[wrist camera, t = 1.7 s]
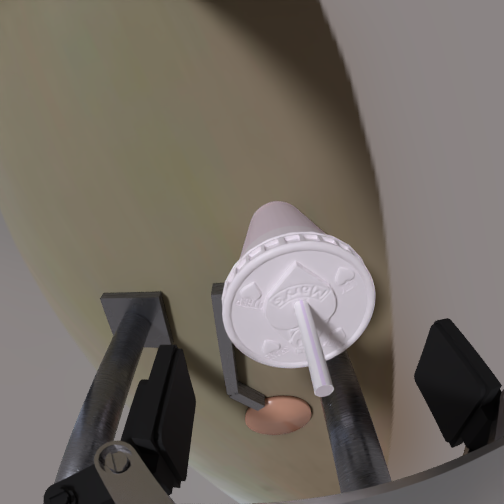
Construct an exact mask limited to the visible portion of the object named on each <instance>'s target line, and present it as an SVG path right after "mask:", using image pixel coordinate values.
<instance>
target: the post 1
mask: <svg viewBox="0 0 504 504" xmlns="http://www.w3.org/2000/svg"><path fill="white" fill-rule="evenodd" d="M100 300H101V303H102V306H103V308H104V311H105V314H106V317H107V320H108V322H109V325H110V328H111V330H112V333H113V338H112V341H111V343H110V345H109V347H108V349H107V351H106V353H105V355H104V358H103V360H102V362H101V364H100V366H99V369H98V371H97V373H96V375H95V378H94V380H93V382H92V385H91V387H90V389H89V392H88V394H87V397H86V399H85V401H84V404H83V406H82V408H81V411H80V413H79V416H78V418H77V421H76V423H75V426H74V429H73V431H72V434H71V437H70V439H69V442H68V445H67V447H66V450H65V453H64V456H63V459H62V461H61V465H60V467H59V470H58V473H57V477H56V479H55V483H57V482H59V481H61V480H63V479H65V478H67V477H69V476H71V475H73V474H75V473H77V472H79V471H81V470H83V469H85V468H87V467H89V466H91V465H93V464H94V456H95V454H96V451H97V450H98V449H99V448H100V447H101V446H102V445H104V444H105V443H107V442H111V441H114V438H115V434H116V431H117V428H118V424H119V421H120V417H121V414H122V411H123V408H124V405H125V401H126V398H127V395H128V392H129V389H130V386H131V383H132V380H133V377H134V374H135V371H136V368H137V365H138V362H139V359H140V356H141V353H142V350H143V347H159V346H160V345H173V338H172V334H171V330H170V326H169V323H168V319H167V315H166V311H165V306H164V302H163V298H162V294H161V292H128V293H103V295H102V296H101V298H100ZM55 483H54V484H55Z"/></svg>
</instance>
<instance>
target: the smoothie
mask: <svg viewBox="0 0 504 504" xmlns="http://www.w3.org/2000/svg"><path fill="white" fill-rule="evenodd" d="M374 306H375V287H374V283H373V280H372V277H371V275H370V273H369V271H368V269H367V268H366V266H365V264H364V262H363V260H362V258H361V257H360V256H359V255H358V254H357V253H356V252H355V251H354V250H353V248H352V247H351V246H350V245H348V244H346V243H345V242H343V241H341V240H339V239H337V238H336V237H334V236H331V235H327V234H325V233H324V232H323V231H322V230H321V229H320V228H319V227H318V226H316V225H315V224H314V223H313V222H312V221H311V220H310V219H308V218H307V217H306V216H305V215H304V214H303V213H302V212H300V211H299V210H298V209H297V208H296V207H294V206H293V205H291V204H289V203H287V202H282V201H274V202H270V203H267V204H265V205H263V206H261V207H260V208H259V209H258V210H257V211H256V212H255V213H254V215H253V217H252V219H251V222H250V225H249V229H248V232H247V236H246V239H245V242H244V246H243V249H242V252H241V256H240V259H239V260H238V261H237V262H236V263H235V265H234V266H233V268H232V270H231V272H230V273H229V275H228V277H227V279H226V281H225V285H224V289H223V294H222V317H223V323H224V327H225V330H226V333H227V335H228V337H229V338H230V340H231V341H232V343H233V344H234V345H235V346H236V347H237V348H238V349H239V350H240V351H241V352H242V353H243V354H245V355H246V356H248V357H249V358H251V359H253V360H255V361H257V362H259V363H262V364H265V365H269V366H273V367H279V368H300V367H308V366H309V371H310V375H311V379H312V384H313V388H314V393H315V395H316V396H319V397H324V396H327V395H329V394H331V393H332V392H333V390H334V387H333V384H332V380H331V377H330V373H329V370H328V367H327V363H326V361H327V360H329V359H332V358H333V357H335V356H337V355H339V354H340V353H342V352H343V351H345V350H346V349H347V348H349V347H350V346H351V345H352V344H353V343H354V342H355V341H356V340H357V339H358V338H359V337H360V336H361V334H362V333H363V332H364V330H365V329H366V327H367V325H368V323H369V321H370V319H371V317H372V314H373V311H374Z"/></svg>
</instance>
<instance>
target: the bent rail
mask: <svg viewBox="0 0 504 504" xmlns="http://www.w3.org/2000/svg"><path fill="white" fill-rule="evenodd" d="M224 285H225V283H214V284H213V286H212V292H211V297H212V304H213V311H214V318H215V324H216V331H217V337H218V344H219V350H220V356H221V362H222V368H223V374H224V379H225V385H226V391H227V395H229V397H230V398H232V399H234V400H236V401H238V402H240V403H242V404H244V405H246V406H248V407H250V408H253V409H255V410H257V411H259V410H260V409H262V408H263V407H265V399H264V394H262V393H260V392H258V391H256V390H254V389H252V388H250V387H248V386H246V385H244V384H243V383H241V382H239V381H238V376H237V368H236V360H235V352H234V344H233V343H232V341H231V340H230V338H229V337H228V335H227V333H226V330H225V327H224V323H223V317H222V294H223V289H224Z"/></svg>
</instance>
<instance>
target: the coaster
mask: <svg viewBox="0 0 504 504" xmlns="http://www.w3.org/2000/svg"><path fill="white" fill-rule="evenodd" d="M310 418H311V409H310V406H309V404H308V403H307V402H306V401H304V400H303V399H300V398H297V397H293V396H273V397H268V398H265V407H263V408H262V409H260V410H259V411H257V410H255V409H253V408H250V407H249V408H248V409H247V411H246V414H245V421H246V424H247V426H248V427H249V428H250V429H252V430H253V431H255V432H258V433H261V434H267V435H280V434H286V433H290V432H293V431H296V430H298V429H300V428H302V427H303V426H304V425H306V424H307V423H308V421H309V420H310Z"/></svg>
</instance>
